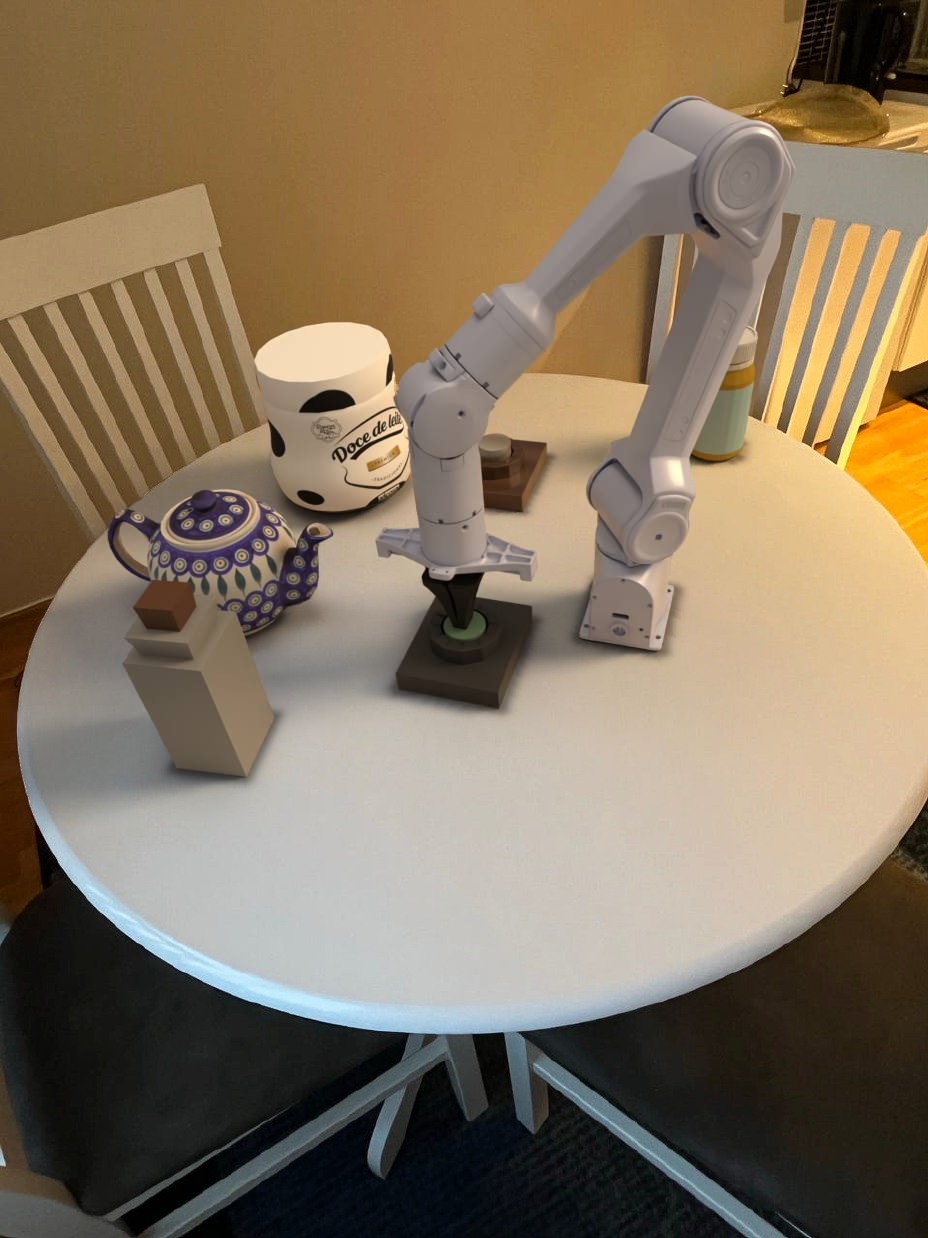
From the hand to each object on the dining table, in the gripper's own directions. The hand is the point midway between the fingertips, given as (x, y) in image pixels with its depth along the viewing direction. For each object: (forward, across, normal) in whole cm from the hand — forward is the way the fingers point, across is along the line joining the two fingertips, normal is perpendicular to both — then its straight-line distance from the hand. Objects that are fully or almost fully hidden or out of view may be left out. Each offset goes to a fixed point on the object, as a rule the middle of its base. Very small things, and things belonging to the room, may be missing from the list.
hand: (463, 621), depth 79 cm
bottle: (+4, +18, +42) cm, 46 cm away
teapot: (+4, -26, 0) cm, 26 cm away
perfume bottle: (+4, -17, -17) cm, 24 cm away
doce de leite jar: (+4, -24, +24) cm, 34 cm away
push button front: (+4, 0, 0) cm, 4 cm away
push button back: (+4, -6, +30) cm, 31 cm away
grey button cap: (0, -6, +30) cm, 30 cm away
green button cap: (+2, 0, 0) cm, 2 cm away
